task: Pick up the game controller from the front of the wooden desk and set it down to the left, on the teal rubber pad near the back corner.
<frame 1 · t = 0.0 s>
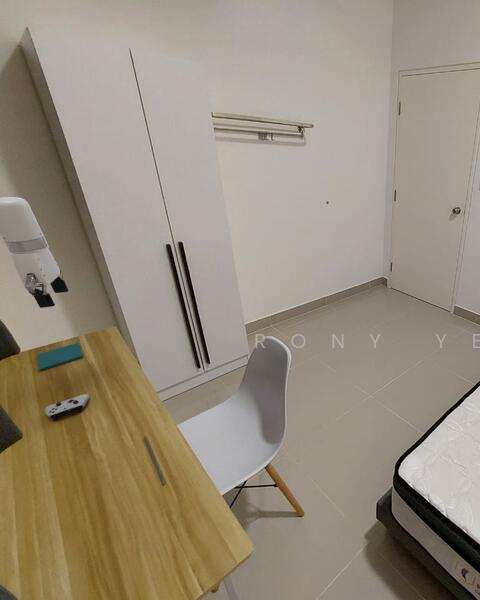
hand: (55, 299, 98), 29 cm above the table, tool pointing down, fingers open, 9 cm apart
game controller: (69, 410, 97), on the table
pad: (61, 357, 118), on the table
rod: (154, 461, 85), on the table
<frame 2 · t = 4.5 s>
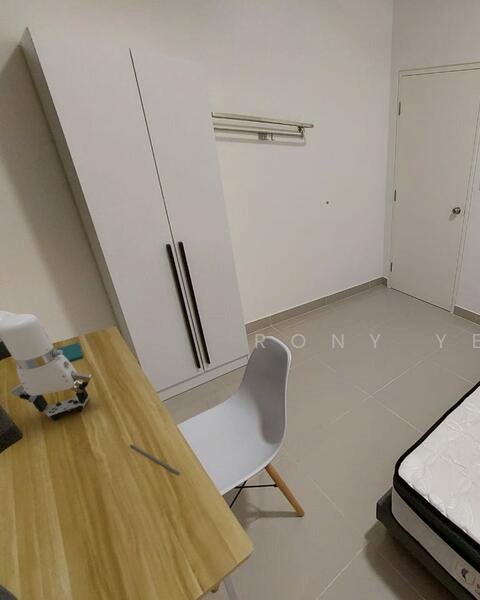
hand: (64, 404, 96), 3 cm above the table, tool pointing down, fingers closed on game controller, 8 cm apart
game controller: (69, 410, 97), on the table, touching gripper
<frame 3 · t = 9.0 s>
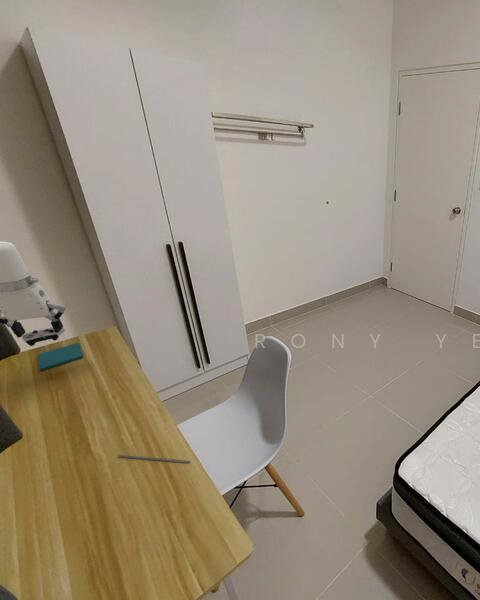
hand: (40, 332, 104), 16 cm above the table, tool pointing down, fingers closed on game controller, 8 cm apart
game controller: (45, 339, 106), point 13 cm above the table, touching gripper
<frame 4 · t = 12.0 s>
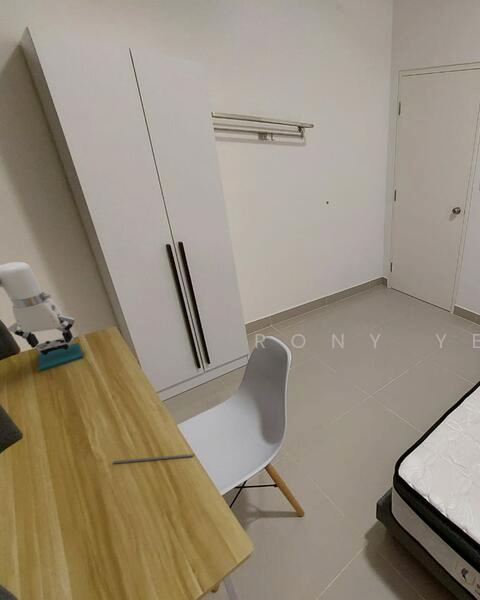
hand: (52, 342, 115), 6 cm above the table, tool pointing down, fingers closed on game controller, 8 cm apart
game controller: (57, 349, 116), point 4 cm above the table, touching gripper
when the fingers open (4 cm above the table, at t = 13.6 s): game controller stays where it is, resting on pad.
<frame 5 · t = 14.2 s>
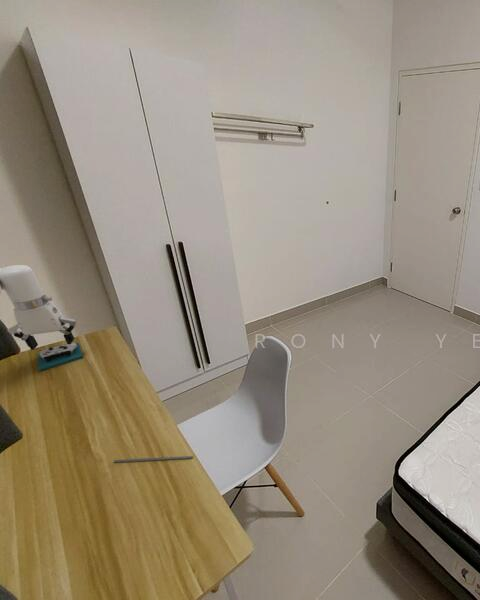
hand: (53, 344, 115), 6 cm above the table, tool pointing down, fingers open, 9 cm apart
game controller: (60, 355, 117), point 1 cm above the table, touching pad
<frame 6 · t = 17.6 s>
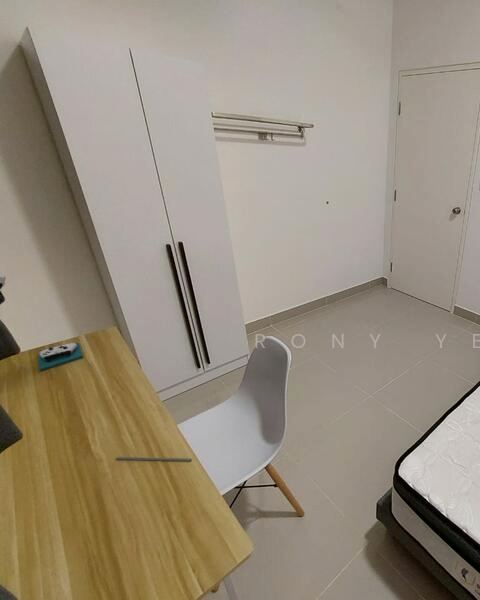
at the end: game controller inside the target area on the pad (0.0 cm from its centre), point 0.8 cm above the pad's base; game controller moved 33.7 cm from its start; the gripper is holding nothing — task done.
